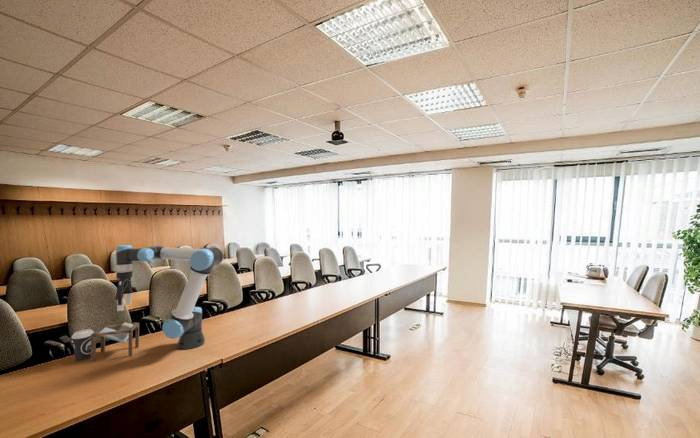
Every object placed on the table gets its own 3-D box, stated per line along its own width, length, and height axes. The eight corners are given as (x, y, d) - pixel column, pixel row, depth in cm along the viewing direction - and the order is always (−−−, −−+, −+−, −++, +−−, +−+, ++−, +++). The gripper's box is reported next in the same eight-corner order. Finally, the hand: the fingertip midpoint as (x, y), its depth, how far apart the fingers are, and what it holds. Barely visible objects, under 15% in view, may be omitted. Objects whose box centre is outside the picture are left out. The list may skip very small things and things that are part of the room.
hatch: (130, 336, 178) (131, 335, 178) (123, 343, 168) (124, 341, 168) (104, 328, 174) (105, 326, 174) (96, 334, 164) (97, 333, 164)
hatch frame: (138, 346, 181) (139, 322, 181) (131, 356, 168) (131, 330, 168) (101, 351, 174) (102, 326, 175) (91, 362, 161) (91, 334, 162)
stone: (127, 336, 175) (133, 324, 177) (124, 339, 171) (131, 327, 172) (118, 333, 174) (124, 322, 175) (115, 336, 169) (122, 324, 170)
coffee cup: (91, 353, 172) (91, 327, 172) (96, 357, 167) (96, 331, 167) (69, 359, 165) (69, 332, 165) (73, 364, 159) (73, 336, 159)
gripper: (124, 268, 183) (124, 302, 183) (108, 275, 160) (108, 314, 160) (138, 267, 186) (138, 301, 186) (124, 274, 163) (124, 312, 163)
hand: (124, 307), depth 173 cm, fingers open, 13 cm apart
